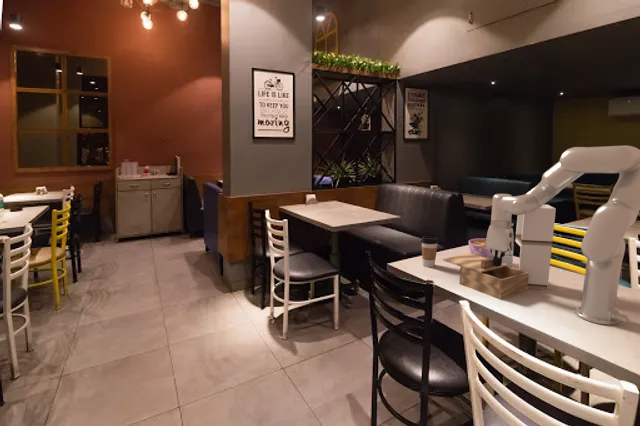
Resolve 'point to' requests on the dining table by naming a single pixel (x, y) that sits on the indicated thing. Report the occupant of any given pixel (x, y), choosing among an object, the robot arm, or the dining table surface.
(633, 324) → the dining table surface
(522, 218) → the tall white box
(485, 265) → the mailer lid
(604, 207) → the robot arm
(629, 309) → the dining table surface
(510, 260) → the syrup box
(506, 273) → the wooden box
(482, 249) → the bowl of food
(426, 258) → the coffee cup
